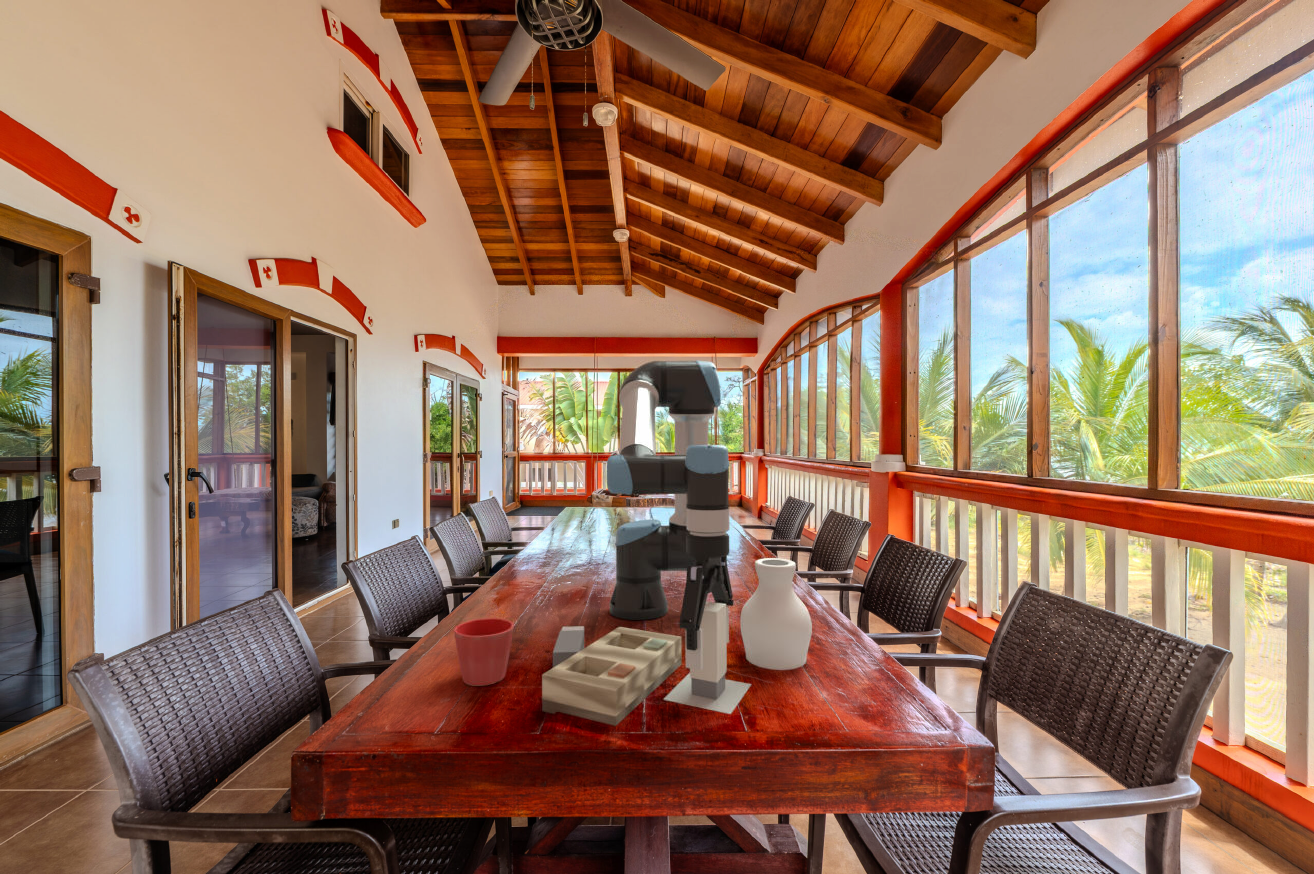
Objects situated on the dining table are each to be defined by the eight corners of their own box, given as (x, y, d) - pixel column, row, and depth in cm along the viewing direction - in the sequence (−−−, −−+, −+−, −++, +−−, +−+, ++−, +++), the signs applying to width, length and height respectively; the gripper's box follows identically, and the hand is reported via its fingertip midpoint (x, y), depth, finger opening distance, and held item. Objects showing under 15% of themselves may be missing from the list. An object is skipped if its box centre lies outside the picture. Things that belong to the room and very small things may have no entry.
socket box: (619, 655, 117) (619, 624, 117) (681, 667, 111) (681, 634, 111) (542, 710, 93) (542, 671, 93) (615, 729, 87) (615, 687, 87)
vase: (726, 661, 113) (725, 562, 113) (764, 642, 124) (763, 551, 124) (789, 682, 104) (788, 573, 104) (825, 659, 114) (824, 561, 114)
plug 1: (561, 649, 121) (561, 625, 121) (585, 648, 121) (585, 625, 121) (552, 679, 106) (552, 652, 106) (579, 678, 106) (579, 651, 106)
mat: (689, 675, 107) (689, 672, 107) (751, 687, 102) (751, 684, 102) (663, 702, 96) (663, 699, 96) (730, 717, 91) (730, 713, 91)
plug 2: (700, 683, 102) (699, 600, 102) (726, 688, 100) (726, 603, 100) (690, 694, 98) (689, 608, 98) (717, 700, 95) (716, 611, 95)
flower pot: (495, 661, 114) (495, 613, 114) (524, 677, 106) (524, 626, 106) (444, 677, 107) (444, 626, 107) (471, 696, 99) (471, 640, 99)
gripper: (711, 522, 112) (712, 629, 111) (657, 542, 89) (658, 677, 89) (748, 524, 108) (749, 634, 108) (702, 545, 86) (703, 685, 86)
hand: (708, 654), depth 98 cm, fingers open, 13 cm apart
